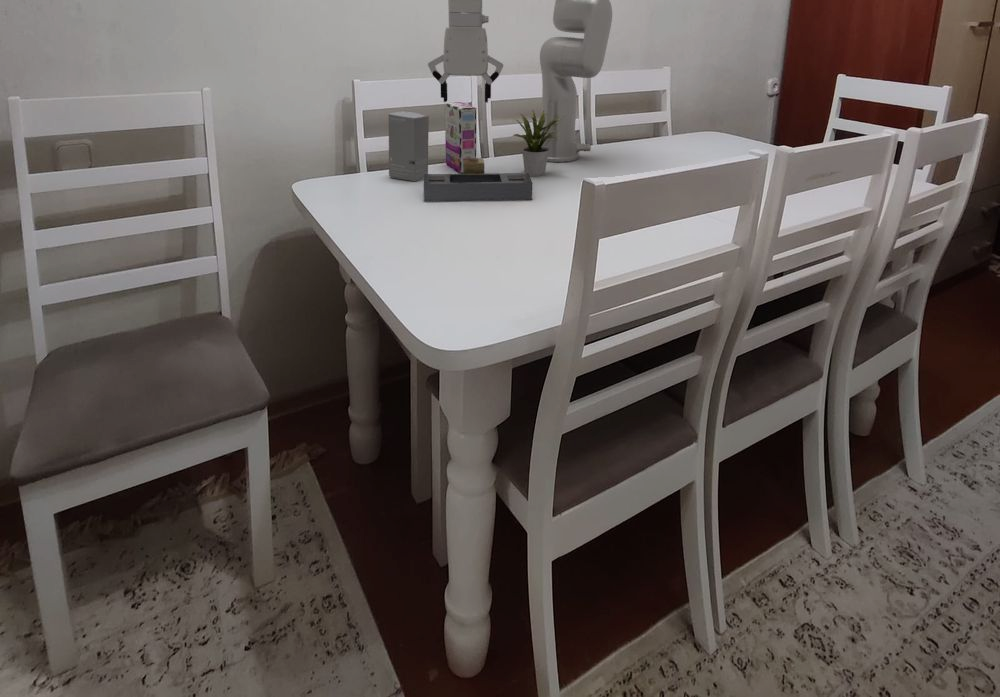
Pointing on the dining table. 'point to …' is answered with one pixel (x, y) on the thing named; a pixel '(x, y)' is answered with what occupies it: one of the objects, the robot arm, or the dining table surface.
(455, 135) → the candy bar box
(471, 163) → the brass block
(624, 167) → the dining table surface
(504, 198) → the grey slotted block
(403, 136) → the skincare box
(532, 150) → the house plant
